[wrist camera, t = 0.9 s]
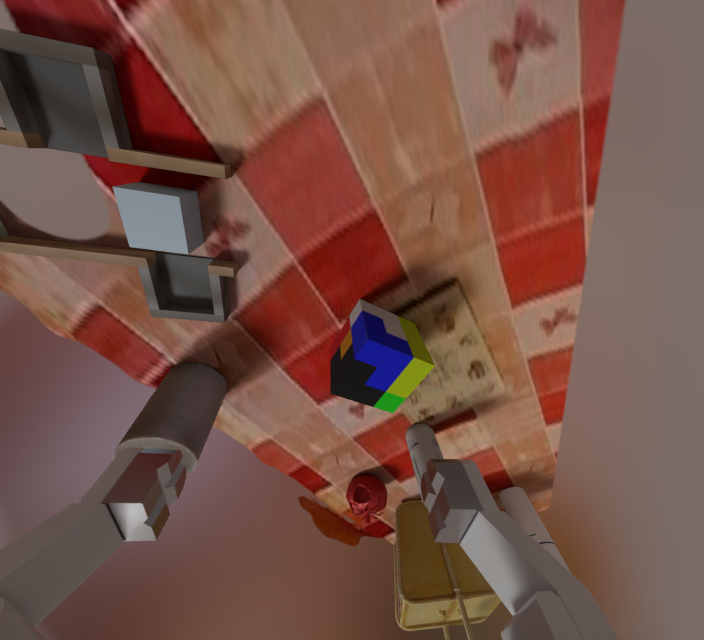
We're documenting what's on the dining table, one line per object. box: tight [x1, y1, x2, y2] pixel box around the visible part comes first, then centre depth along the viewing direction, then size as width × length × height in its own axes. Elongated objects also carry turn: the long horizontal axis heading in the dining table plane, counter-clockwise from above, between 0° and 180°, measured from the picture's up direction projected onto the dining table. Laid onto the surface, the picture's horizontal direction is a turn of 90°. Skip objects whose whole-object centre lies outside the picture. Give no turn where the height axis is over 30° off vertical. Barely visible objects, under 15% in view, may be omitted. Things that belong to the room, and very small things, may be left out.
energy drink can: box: [406, 424, 443, 513], centre depth 52 cm, size 6×6×15 cm
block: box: [113, 182, 204, 254], centre depth 30 cm, size 6×6×4 cm
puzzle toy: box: [330, 299, 435, 413], centre depth 39 cm, size 10×10×10 cm
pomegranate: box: [346, 475, 387, 525], centre depth 64 cm, size 10×10×9 cm
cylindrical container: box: [498, 487, 570, 572], centre depth 67 cm, size 7×7×25 cm
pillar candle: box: [115, 362, 227, 474], centre depth 40 cm, size 10×10×15 cm
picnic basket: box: [394, 499, 501, 640], centre depth 70 cm, size 29×26×30 cm
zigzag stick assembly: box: [0, 29, 239, 323], centre depth 29 cm, size 27×27×4 cm
